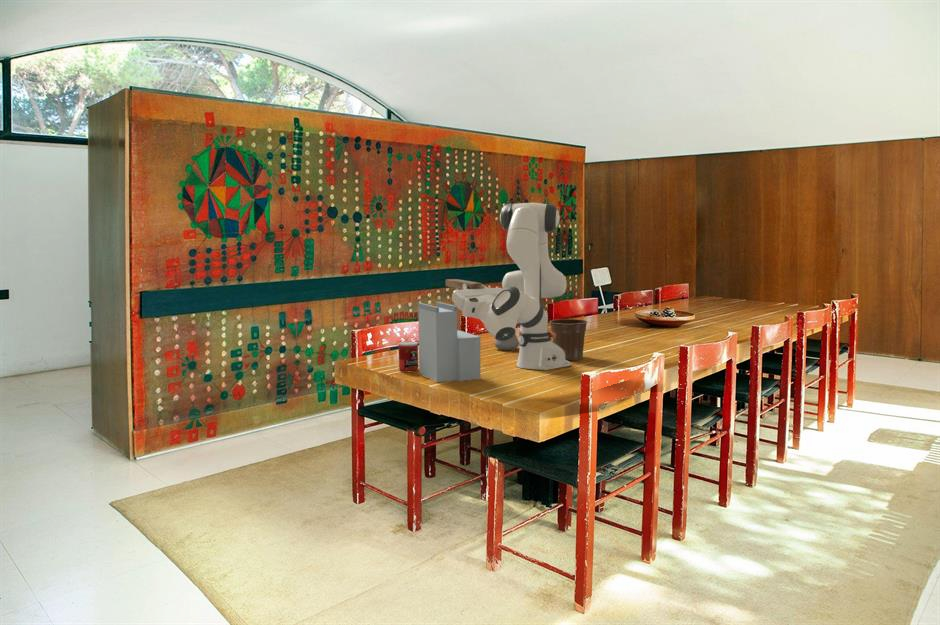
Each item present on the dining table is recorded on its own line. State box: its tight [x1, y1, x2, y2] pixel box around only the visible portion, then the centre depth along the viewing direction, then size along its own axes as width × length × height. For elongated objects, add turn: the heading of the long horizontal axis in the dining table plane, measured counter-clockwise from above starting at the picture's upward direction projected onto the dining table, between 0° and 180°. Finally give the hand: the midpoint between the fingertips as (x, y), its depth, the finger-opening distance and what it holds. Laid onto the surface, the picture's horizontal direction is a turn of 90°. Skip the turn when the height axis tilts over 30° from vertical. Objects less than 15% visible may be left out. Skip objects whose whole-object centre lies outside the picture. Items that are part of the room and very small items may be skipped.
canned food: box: [398, 341, 419, 372], centre depth 284 cm, size 8×8×11 cm
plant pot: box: [548, 318, 589, 361], centre depth 307 cm, size 16×16×16 cm
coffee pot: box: [493, 322, 520, 351], centre depth 324 cm, size 21×12×15 cm, turn 26°
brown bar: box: [445, 278, 483, 290], centre depth 266 cm, size 4×22×2 cm, turn 26°
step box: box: [417, 301, 482, 383], centre depth 271 cm, size 17×19×28 cm
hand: (471, 285), depth 260 cm, fingers closed on brown bar, 4 cm apart
